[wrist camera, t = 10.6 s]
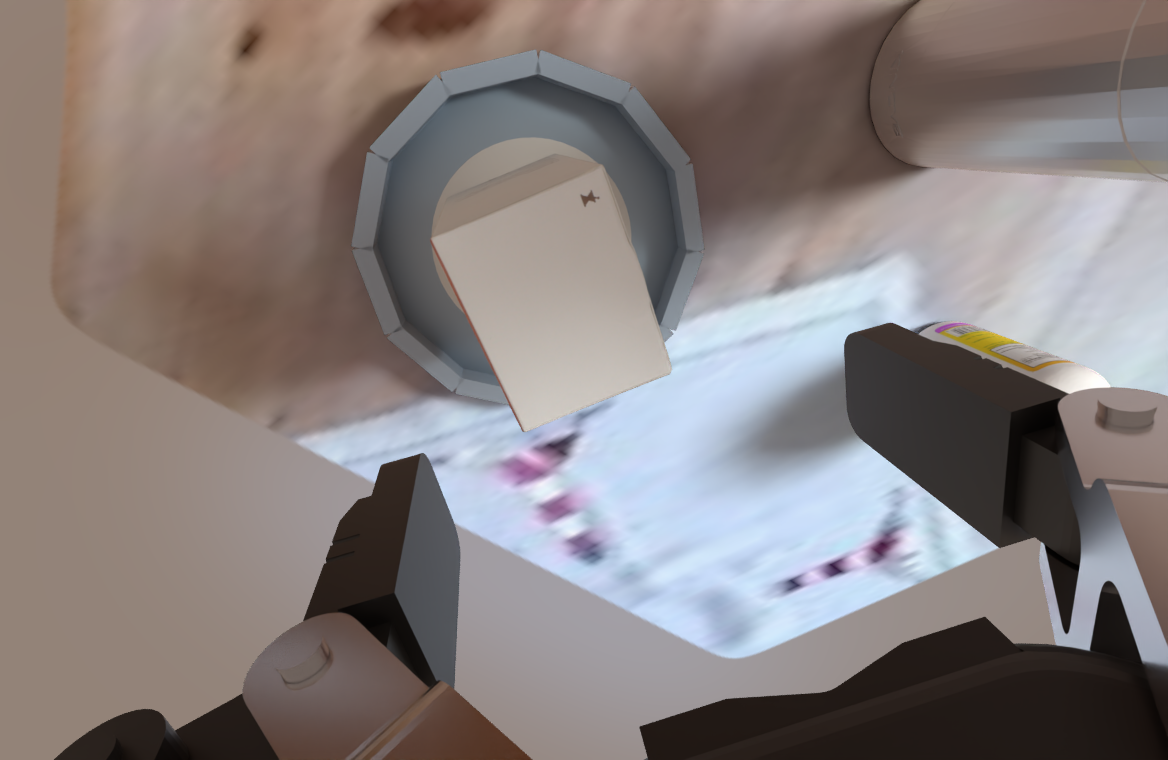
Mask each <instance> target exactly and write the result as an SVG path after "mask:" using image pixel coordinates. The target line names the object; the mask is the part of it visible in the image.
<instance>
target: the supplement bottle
mask: <svg viewBox="0 0 1168 760" xmlns="http://www.w3.org/2000/svg"><path fill="white" fill-rule="evenodd" d="M919 335H921V336H923V337H926V338H928V339H930V340H932V341H937V342H942V343H948V344H953V345H957V346H960V347H962V348H964V349H967V350H969V351H971V352H974V353H976V354H978V355H980V356H981V357H982V359H985V358H987V359H990V360H992V361H994V362H997V363H999V364H1001V365H1002V367H1003V368H1006V367H1008V368H1011V369H1013V370H1015V371H1018V372H1020V373H1022V374H1025V375H1027V376H1029V377H1032V378H1034V379H1036V380H1038V381H1041V382H1043V383H1045V384H1048V385H1050V386H1052V387H1055V388H1057V389H1059V390H1062V391H1064V392H1066V393H1069V394H1071V393H1073V392H1076V391H1080V390H1085V389H1091V388H1105V387H1110V385H1109V384H1108V382H1107V381H1106V380H1105V379H1104V378H1103V377H1102V376H1101V375H1100V374H1098V373H1097V372H1095V371H1094V370H1091V369H1089V368H1087V367H1084V366H1082V365H1079V364H1076V363H1074V362H1071V361H1068V360H1065V359H1062V358H1060V357H1057V356H1054V355H1052V354H1049V353H1046V352H1043V351H1041V350H1038V349H1035V348H1033V347H1030V346H1027V345H1025V344H1022V343H1019V342H1016V341H1014V340H1011V339H1008V338H1006V337H1003V336H1000V335H998V334H995V333H992V332H989V331H987V330H984V329H981V328H978V327H976V326H973V325H970V324H966V323H963V322H957V321H947V322H941V323H938V324H935V325H932V326H930V327H928V328H926V329H924V330H923V331H921V332H920V333H919Z"/></svg>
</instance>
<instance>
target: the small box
mask: <svg viewBox="0 0 1168 760" xmlns="http://www.w3.org/2000/svg"><path fill="white" fill-rule="evenodd" d="M430 242H431V245H432V247H433V249H434V252H435V254H436V256H437V258H438V260H439V262H440V264H441V266H442V268H443V270H444V272H445V274H446V276H447V278H448V281H449V283H450V285H451V287H452V289H453V291H454V293H455V295H456V297H457V299H458V301H459V303H460V305H461V307H462V309H463V311H464V313H465V316H466V318H467V320H468V322H469V324H470V326H471V328H472V330H473V332H474V334H475V336H476V338H477V340H478V342H479V344H480V346H481V348H482V350H483V352H484V354H485V356H486V358H487V360H488V362H489V364H490V366H491V368H492V370H493V372H494V374H495V376H496V378H497V380H498V382H499V384H500V386H501V389H502V391H503V393H504V395H505V397H506V399H507V401H508V403H509V405H510V407H511V409H512V411H513V413H514V415H515V417H516V419H517V421H518V423H519V425H520V427H521V429H522V431H523V432H527V431H530V430H532V429H534V428H537V427H539V426H541V425H544V424H546V423H549V422H551V421H554V420H556V419H558V418H561V417H563V416H565V415H568V414H570V413H573V412H575V411H578V410H580V409H583V408H585V407H588V406H590V405H593V404H595V403H598V402H600V401H603V400H605V399H608V398H610V397H613V396H615V395H618V394H620V393H623V392H625V391H628V390H630V389H633V388H636V387H638V386H641V385H643V384H646V383H648V382H651V381H653V380H656V379H658V378H661V377H663V376H666V375H669V374H670V373H671V370H672V368H671V363H670V360H669V357H668V353H667V350H666V347H665V344H664V340H663V337H662V334H661V331H660V328H659V325H658V322H657V319H656V315H655V312H654V309H653V306H652V303H651V299H650V296H649V293H648V290H647V286H646V282H645V278H644V275H643V272H642V269H641V267H640V264H639V261H638V258H637V254H636V252H635V249H634V247H633V245H632V243H631V240H630V238H629V235H628V233H627V230H626V227H625V224H624V221H623V218H622V216H621V213H620V210H619V207H618V204H617V201H616V198H615V195H614V192H613V190H612V187H611V184H610V181H609V178H608V175H607V172H606V170H605V167H604V166H603V165H602V164H598V163H593V162H589V161H584V160H580V159H576V158H572V157H568V156H564V155H559V154H552V155H549V156H547V157H545V158H542V159H540V160H537V161H535V162H532V163H530V164H528V165H525V166H523V167H520V168H518V169H515V170H513V171H511V172H508V173H506V174H503V175H501V176H499V177H496V178H494V179H491V180H489V181H486V182H484V183H481V184H479V185H476V186H474V187H471V188H469V189H466V190H464V191H462V192H459V193H457V194H454V195H452V196H450V197H448V198H447V199H446V202H445V204H444V206H443V209H442V211H441V214H440V216H439V219H438V222H437V224H436V226H435V229H434V231H433V234H432V236H431V239H430Z"/></svg>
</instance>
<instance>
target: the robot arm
mask: <svg viewBox="0 0 1168 760" xmlns="http://www.w3.org/2000/svg"><path fill="white" fill-rule="evenodd" d="M870 109H871V118H872V121H873V124H874V127H875V130H876V133H877V135H878V137H879V138H880V140H881V142H882V143H883V145H884V147H885V148H886V149H887V150H888V151H889V152H890V153H891V154H892V155H893V156H895V157H896V158H898V159H900V160H901V161H903V162H905V163H907V164H911V165H915V166H920V167H932V168H948V169H964V170H975V171H991V172H1007V173H1023V174H1039V175H1056V176H1072V177H1088V178H1104V179H1120V180H1136V181H1152V182H1168V0H920V1H919V2H917V3H916V4H915V5H913V6H912V7H911V8H910V9H908V10H907V11H906V13H905V14H904V15H903V16H902V17H901V18H900V19H899V20H898V22H897V23H896V24H895V25H894V27H893V28H892V30H891V31H890V33H889V35H888V36H887V38H886V39H885V41H884V43H883V45H882V47H881V50H880V52H879V55H878V57H877V59H876V62H875V66H874V70H873V74H872V78H871V86H870ZM844 357H845V378H846V400H847V412H848V417H849V420H850V423H851V425H852V427H853V429H854V431H855V432H856V434H857V435H858V436H859V437H860V439H862V440H863V441H864V442H865V443H866V444H868V445H869V446H870V447H872V448H873V449H874V450H875V451H877V452H878V453H879V454H880V455H882V456H883V457H884V458H886V459H887V460H888V461H889V462H891V463H892V464H893V465H894V466H896V467H897V468H898V469H900V470H901V471H902V472H903V473H905V474H906V475H907V476H908V477H910V478H911V479H912V480H914V481H915V482H916V483H917V484H919V485H920V486H921V487H922V488H924V489H925V490H926V491H928V492H929V493H930V494H931V495H933V496H934V497H935V498H936V499H938V500H939V501H940V502H942V503H943V504H944V505H945V506H947V507H948V508H949V509H950V510H952V511H953V512H954V513H955V514H957V515H958V516H959V517H961V518H962V519H963V520H964V521H966V522H967V523H968V524H969V525H971V526H972V527H973V528H975V529H976V530H977V531H978V532H980V533H981V534H982V535H983V536H985V537H986V538H987V539H989V540H990V541H991V542H992V543H994V544H995V545H996V546H997V547H999V548H1001V547H1005V546H1008V545H1011V544H1014V543H1017V542H1021V541H1023V540H1027V539H1030V538H1034V537H1035V538H1037V539H1038V540H1039V541H1041V548H1040V557H1039V561H1040V568H1041V573H1042V578H1043V583H1044V588H1045V592H1046V597H1047V602H1048V607H1049V612H1050V617H1051V622H1052V627H1053V632H1054V637H1055V641H1056V645H1049V644H1013V643H1012V642H1011V641H1010V640H1009V639H1008V638H1007V637H1006V636H1005V635H1004V634H1003V633H1002V632H1001V631H999V630H998V629H997V628H996V627H995V626H994V625H993V624H992V623H991V622H990V621H989V620H988V619H987V618H986V617H983V618H979V619H976V620H973V621H970V622H967V623H964V624H961V625H957V626H954V627H951V628H948V629H945V630H942V631H939V632H935V633H932V634H929V635H926V636H923V637H920V638H917V639H913V640H911V641H907V642H904V643H902V644H900V645H899V646H897V647H896V648H894V649H893V650H891V651H890V652H888V653H887V654H885V655H884V656H882V657H881V658H879V659H878V660H876V661H875V662H873V663H872V664H870V665H869V666H867V667H866V668H865V669H863V670H862V671H860V672H859V673H857V674H856V675H854V676H853V677H851V678H850V679H848V680H847V681H845V682H844V683H842V684H841V685H839V686H838V687H836V688H834V689H832V690H830V691H827V692H822V693H811V694H796V695H779V696H764V697H748V698H733V699H725V700H722V701H719V702H715V703H712V704H709V705H706V706H703V707H700V708H696V709H693V710H690V711H687V712H685V713H681V714H678V715H675V716H671V717H668V718H665V719H662V720H659V721H656V722H652V723H649V724H646V725H643V726H640V731H641V735H642V738H643V742H644V746H645V749H646V753H647V757H648V758H646V759H645V760H1168V396H1165V395H1162V394H1158V393H1154V392H1150V391H1144V390H1138V389H1130V388H1115V387H1105V388H1091V389H1085V390H1080V391H1076V392H1073V393H1071V394H1069V393H1066V392H1064V391H1062V390H1059V389H1057V388H1055V387H1052V386H1050V385H1048V384H1045V383H1043V382H1041V381H1038V380H1036V379H1034V378H1032V377H1029V376H1027V375H1025V374H1022V373H1020V372H1018V371H1015V370H1013V369H1011V368H1008V367H1006V368H1003V367H1002V365H1001V364H999V363H997V362H994V361H992V360H990V359H987V358H985V359H982V357H981V356H980V355H978V354H976V353H974V352H971V351H969V350H967V349H964V348H962V347H960V346H957V345H953V344H948V343H942V342H937V341H932V340H930V339H928V338H926V337H923V336H921V335H919V334H917V333H914V332H912V331H910V330H908V329H905V328H903V327H901V326H899V325H896V324H894V323H887V324H883V325H880V326H876V327H872V328H869V329H865V330H862V331H858V332H855V333H851V334H850V335H848V337H847V338H846V340H845V345H844ZM332 543H333V545H332V546H330V549H329V552H328V554H327V557H326V564H324V565H323V568H322V571H321V574H320V576H319V579H318V582H317V585H316V587H315V590H314V593H313V596H312V598H311V601H310V604H309V607H308V609H307V612H306V615H305V617H304V620H303V622H301V623H299V624H297V625H295V626H294V627H292V628H290V629H289V630H287V631H286V632H284V633H283V634H281V635H280V636H279V637H278V638H276V639H275V640H274V641H273V642H272V643H271V644H270V645H268V646H267V647H266V648H265V650H264V651H263V652H262V653H261V654H260V655H259V656H258V658H257V659H256V660H255V662H254V663H253V664H252V666H251V668H250V669H249V671H248V673H247V675H246V678H245V680H244V685H243V693H242V694H241V695H239V696H237V697H236V698H234V699H232V700H230V701H228V702H227V703H225V704H223V705H221V706H219V707H217V708H216V709H214V710H212V711H210V712H208V713H206V714H204V715H203V716H201V717H199V718H197V719H195V720H193V721H192V722H190V723H188V724H186V725H185V726H182V727H181V728H179V729H177V730H174V729H173V728H172V727H171V725H170V724H169V723H168V721H167V720H166V719H165V718H164V716H163V715H162V714H161V713H159V712H158V711H155V710H152V709H141V710H135V711H131V712H128V713H124V714H122V715H120V716H117V717H115V718H113V719H110V720H108V721H106V722H104V723H102V724H101V725H100V726H97V727H96V728H94V729H92V730H91V731H89V732H88V733H86V734H85V735H83V736H82V737H81V738H79V739H78V740H76V741H75V742H74V743H73V744H71V745H70V746H69V747H68V748H66V749H65V750H64V751H63V752H62V753H61V754H60V755H58V756H57V757H56V758H55V759H54V760H532V759H531V758H530V757H529V756H528V755H527V754H526V753H525V752H524V751H522V750H521V749H520V748H519V747H518V746H517V745H516V744H515V743H513V742H512V741H511V740H510V739H509V738H508V737H507V736H505V734H503V733H502V732H501V731H500V730H499V729H498V728H496V726H494V725H493V724H492V723H491V722H490V721H489V720H488V719H487V718H486V717H484V716H483V715H482V714H481V713H480V712H479V711H478V710H477V709H476V708H474V707H473V706H472V705H471V704H470V703H469V702H468V701H467V700H465V699H464V698H463V697H462V696H461V695H460V694H459V693H458V692H457V691H455V690H454V683H455V661H456V639H457V618H458V617H457V616H458V596H459V595H458V594H459V575H460V574H459V573H460V546H459V540H458V535H457V531H456V528H455V524H454V522H453V519H452V516H451V514H450V511H449V509H448V506H447V504H446V501H445V499H444V496H443V494H442V491H441V489H440V486H439V483H438V481H437V478H436V476H435V473H434V471H433V468H432V466H431V463H430V461H429V459H428V458H427V456H426V455H425V454H424V453H421V454H418V455H414V456H411V457H407V458H404V459H400V460H397V461H393V462H389V463H386V464H383V465H381V467H380V470H379V473H378V476H377V480H376V483H375V486H374V490H373V493H372V496H369V497H366V498H362V499H359V500H358V501H357V502H356V503H355V504H354V505H353V506H352V507H351V508H350V510H349V511H348V512H347V513H346V514H345V516H344V517H343V518H342V519H341V520H340V522H339V524H338V527H337V530H336V533H335V535H334V538H333V541H332Z"/></svg>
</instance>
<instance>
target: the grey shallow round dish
mask: <svg viewBox="0 0 1168 760" xmlns="http://www.w3.org/2000/svg"><path fill="white" fill-rule="evenodd" d="M440 75H441V78H442V81H441V80H440V79H439V78H438V77H437V75H435V76H434V77H433V78H432V79H431V81H430V82H429V83H428V84H427V85H426V86H425V87H424V88H423V89H422V90H421V92H420V93H419V94H418V95H417V96H416V97H415V98H414V99H413V100H412V101H411V102H410V104H409V105H408V106H407V107H406V108H405V109H404V110H403V111H402V112H401V113H400V114H399V116H398V117H397V118H396V119H395V120H394V121H393V122H392V123H391V124H390V125H389V127H388V128H387V129H386V130H385V131H384V132H383V133H382V134H381V135H380V136H379V137H378V139H377V140H376V141H375V142H374V143H373V144H372V145H371V146H370V147H369V148H370V149H371V150H372V151H370V152H367V156H366V162H365V168H364V174H363V179H362V185H361V191H360V197H359V203H358V209H357V215H356V221H355V227H354V233H353V239H352V244H351V246H352V247H355V248H354V249H353V250H352V253H353V255H354V258H355V260H356V263H357V266H358V268H359V271H360V273H361V276H362V279H363V281H364V284H365V286H366V289H367V291H368V294H369V297H370V299H371V302H372V304H373V307H374V309H375V312H376V315H377V317H378V320H379V322H380V325H381V327H382V330H383V333H384V335H386V334H389V335H388V337H387V339H388V340H390V341H391V342H392V343H393V344H394V345H396V346H397V347H398V348H399V349H400V350H402V351H403V352H404V353H405V354H406V355H408V356H409V357H410V358H411V359H412V360H414V361H415V362H416V363H417V364H418V365H420V366H421V367H422V368H423V369H425V370H426V371H427V372H428V373H429V374H431V375H432V376H433V377H434V378H435V379H437V380H438V381H439V382H440V383H441V384H443V385H444V386H445V387H446V388H447V389H449V390H450V391H451V392H453V391H454V390H455V389H456V393H455V394H458V395H463V396H468V397H473V398H478V399H483V400H487V401H492V402H497V403H502V404H507V405H509V403H508V401H507V399H506V397H505V395H504V393H503V391H502V389H501V386H500V384H499V382H498V380H497V378H496V376H495V374H494V372H493V370H492V368H491V366H490V364H489V362H488V360H487V358H486V356H485V354H484V352H483V350H482V348H481V346H480V344H479V342H478V340H477V338H476V336H475V334H474V332H473V330H472V328H471V326H470V324H469V322H468V320H467V318H466V316H465V313H464V311H463V309H462V307H461V305H460V303H459V301H458V299H457V297H456V295H455V293H454V291H453V289H452V287H451V285H450V283H449V281H448V278H447V276H446V274H445V272H444V270H443V268H442V266H441V264H440V262H439V260H438V258H437V256H436V254H435V252H434V249H433V247H432V245H431V242H430V239H431V236H432V234H433V231H434V229H435V226H436V224H437V222H438V219H439V216H440V214H441V211H442V209H443V206H444V204H445V202H446V199H447V198H448V197H450V196H452V195H454V194H457V193H459V192H462V191H464V190H466V189H469V188H471V187H474V186H476V185H479V184H481V183H484V182H486V181H489V180H491V179H494V178H496V177H499V176H501V175H503V174H506V173H508V172H511V171H513V170H515V169H518V168H520V167H523V166H525V165H528V164H530V163H532V162H535V161H537V160H540V159H542V158H545V157H547V156H549V155H552V154H559V155H564V156H568V157H572V158H576V159H580V160H584V161H589V162H593V163H598V164H602V165H603V166H604V167H605V170H606V172H607V175H608V178H609V181H610V184H611V187H612V190H613V192H614V195H615V198H616V201H617V204H618V207H619V210H620V213H621V216H622V218H623V221H624V224H625V227H626V230H627V233H628V235H629V238H630V240H631V243H632V245H633V247H634V249H635V252H636V254H637V258H638V261H639V264H640V267H641V269H642V272H643V275H644V278H645V282H646V286H647V290H648V293H649V296H650V299H651V303H652V306H653V309H654V312H655V315H656V319H657V322H658V325H659V328H660V331H661V334H662V337H663V340H664V342H665V341H666V340H667V339H669V338H670V337H671V336H672V335H673V332H672V331H671V330H675V331H676V329H677V326H678V323H679V321H680V318H681V315H682V312H683V310H684V307H685V304H686V301H687V299H688V296H689V293H690V291H691V288H692V285H693V282H694V280H695V277H696V274H697V272H698V269H699V266H700V263H701V261H702V258H703V255H704V253H702V252H700V251H702V250H704V242H703V235H702V228H701V221H700V213H699V206H698V199H697V192H696V184H695V177H694V170H693V163H688V162H689V161H690V160H691V159H690V158H689V156H688V155H687V154H686V152H685V151H684V150H683V149H682V147H681V146H680V145H679V143H678V142H677V141H676V139H675V138H674V137H673V136H672V134H671V133H670V132H669V130H668V129H667V128H666V126H665V125H664V124H663V122H662V121H661V120H660V119H659V117H658V116H657V115H656V113H655V112H654V111H653V109H652V108H651V107H650V106H649V104H648V103H647V102H646V100H645V99H644V98H643V96H642V95H641V94H640V93H639V91H638V90H637V89H636V87H635V86H634V87H631V88H630V86H631V83H628V82H625V81H623V80H620V79H617V78H615V77H612V76H609V75H607V74H604V73H601V72H599V71H596V70H593V69H591V68H588V67H585V66H583V65H580V64H577V63H575V62H572V61H569V60H566V59H564V58H561V57H558V56H556V55H553V54H550V53H548V52H545V51H542V50H540V51H539V53H538V54H537V51H536V50H532V51H528V52H524V53H519V54H515V55H511V56H507V57H503V58H498V59H494V60H490V61H486V62H481V63H477V64H473V65H469V66H465V67H460V68H456V69H452V70H448V71H444V72H440ZM670 329H671V330H670Z"/></svg>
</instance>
